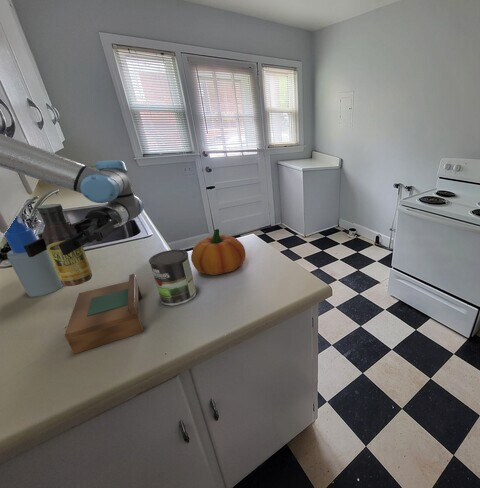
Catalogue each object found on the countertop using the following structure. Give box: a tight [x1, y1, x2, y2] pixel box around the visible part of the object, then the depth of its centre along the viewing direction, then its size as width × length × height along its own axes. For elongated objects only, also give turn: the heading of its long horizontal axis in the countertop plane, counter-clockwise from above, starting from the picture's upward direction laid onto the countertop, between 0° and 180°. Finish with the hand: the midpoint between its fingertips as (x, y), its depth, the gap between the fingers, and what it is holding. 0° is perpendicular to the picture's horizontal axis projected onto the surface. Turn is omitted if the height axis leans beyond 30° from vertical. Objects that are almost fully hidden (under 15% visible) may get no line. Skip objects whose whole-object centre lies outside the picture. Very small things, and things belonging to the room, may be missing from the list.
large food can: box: [148, 249, 197, 307], centre depth 83 cm, size 10×10×14 cm
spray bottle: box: [3, 215, 64, 297], centre depth 85 cm, size 9×9×25 cm
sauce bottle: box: [36, 203, 93, 287], centre depth 65 cm, size 6×6×20 cm
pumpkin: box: [190, 228, 247, 276], centre depth 101 cm, size 19×19×15 cm
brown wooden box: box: [64, 273, 144, 355], centre depth 74 cm, size 14×20×8 cm
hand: (45, 250), depth 60 cm, fingers closed on sauce bottle, 6 cm apart
